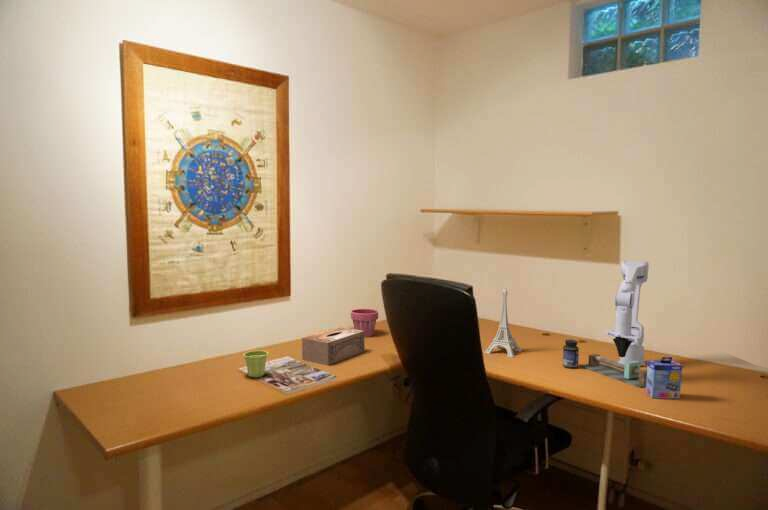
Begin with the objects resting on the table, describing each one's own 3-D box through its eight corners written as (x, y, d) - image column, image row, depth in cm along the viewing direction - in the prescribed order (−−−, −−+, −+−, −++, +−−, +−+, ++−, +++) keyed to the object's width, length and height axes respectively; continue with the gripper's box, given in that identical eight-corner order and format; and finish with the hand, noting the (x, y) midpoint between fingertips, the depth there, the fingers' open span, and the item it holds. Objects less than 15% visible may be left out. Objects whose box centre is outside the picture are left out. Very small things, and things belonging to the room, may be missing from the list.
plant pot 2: (382, 333, 269) (382, 309, 268) (371, 339, 256) (371, 314, 255) (358, 331, 274) (358, 307, 273) (346, 336, 262) (345, 312, 261)
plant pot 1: (246, 380, 194) (246, 358, 193) (241, 373, 202) (241, 352, 201) (271, 377, 198) (270, 355, 197) (265, 370, 206) (264, 349, 206)
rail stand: (581, 366, 213) (581, 354, 212) (598, 363, 217) (599, 351, 216) (640, 387, 187) (640, 373, 187) (658, 384, 192) (659, 370, 191)
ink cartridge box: (652, 398, 177) (654, 357, 175) (644, 393, 182) (646, 353, 181) (681, 399, 176) (683, 358, 175) (672, 393, 182) (674, 353, 181)
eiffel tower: (513, 357, 226) (514, 290, 223) (484, 353, 233) (485, 288, 230) (521, 350, 237) (523, 286, 235) (494, 346, 244) (495, 284, 242)
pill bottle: (579, 369, 209) (580, 343, 208) (563, 368, 210) (564, 342, 209) (576, 365, 215) (577, 339, 214) (561, 364, 216) (562, 338, 215)
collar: (624, 377, 196) (624, 362, 195) (634, 375, 199) (635, 360, 198) (628, 379, 194) (629, 363, 194) (639, 376, 197) (640, 361, 196)
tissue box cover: (327, 366, 213) (327, 342, 212) (302, 360, 221) (302, 337, 220) (364, 352, 234) (364, 330, 233) (339, 347, 242) (339, 326, 241)
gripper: (601, 319, 204) (599, 353, 205) (632, 327, 191) (630, 363, 192) (613, 318, 207) (612, 351, 208) (645, 325, 194) (643, 360, 195)
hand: (621, 356), depth 200 cm, fingers closed
